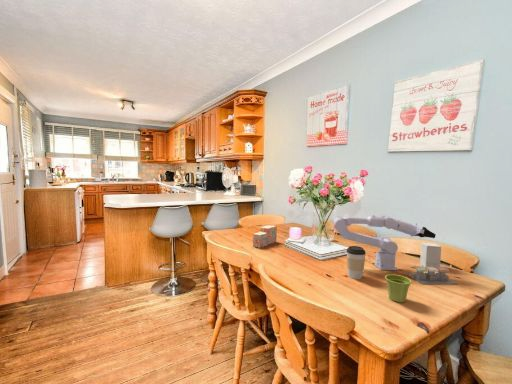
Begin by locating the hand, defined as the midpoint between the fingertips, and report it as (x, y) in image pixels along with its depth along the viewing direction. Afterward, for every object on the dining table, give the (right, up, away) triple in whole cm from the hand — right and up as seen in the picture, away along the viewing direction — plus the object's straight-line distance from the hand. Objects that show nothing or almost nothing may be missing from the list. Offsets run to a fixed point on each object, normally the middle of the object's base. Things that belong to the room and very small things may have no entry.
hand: (430, 235), depth 136 cm
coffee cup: (-43, -19, -8) cm, 48 cm away
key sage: (-12, -18, -10) cm, 24 cm away
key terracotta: (-1, -18, -10) cm, 20 cm away
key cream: (-7, -18, -10) cm, 21 cm away
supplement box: (+4, -19, +7) cm, 21 cm away
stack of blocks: (-87, -15, +48) cm, 100 cm away
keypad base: (-7, -20, -10) cm, 23 cm away
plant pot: (-35, -21, -30) cm, 51 cm away
